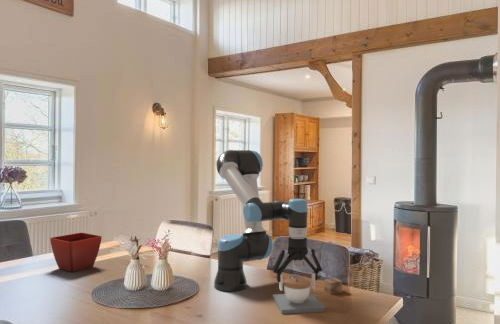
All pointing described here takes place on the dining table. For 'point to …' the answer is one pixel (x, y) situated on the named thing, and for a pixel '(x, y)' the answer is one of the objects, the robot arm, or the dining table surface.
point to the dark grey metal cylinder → (295, 276)
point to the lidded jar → (297, 290)
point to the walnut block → (333, 286)
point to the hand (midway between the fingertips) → (297, 289)
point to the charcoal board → (308, 306)
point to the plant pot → (75, 251)
